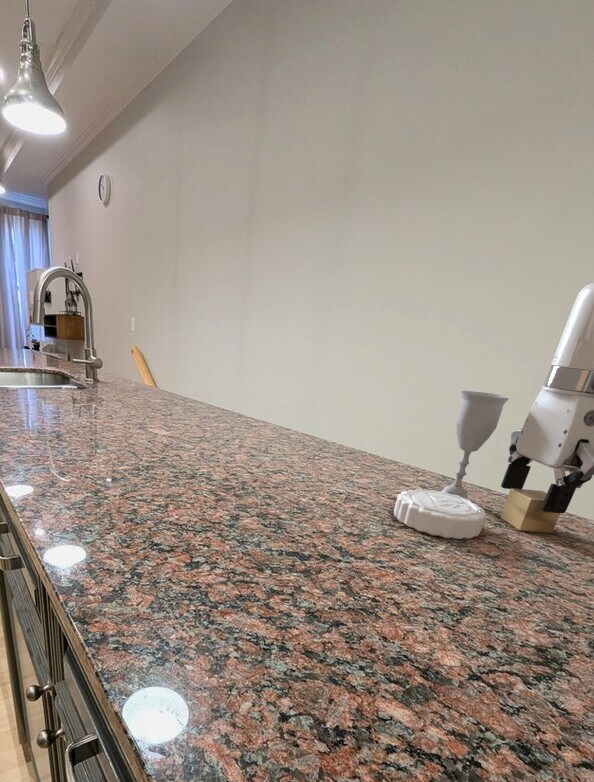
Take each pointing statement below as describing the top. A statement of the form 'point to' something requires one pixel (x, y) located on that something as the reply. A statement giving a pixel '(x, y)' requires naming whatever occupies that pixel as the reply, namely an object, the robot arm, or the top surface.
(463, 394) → the chalice
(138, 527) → the top surface
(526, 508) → the block
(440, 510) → the mooncake
